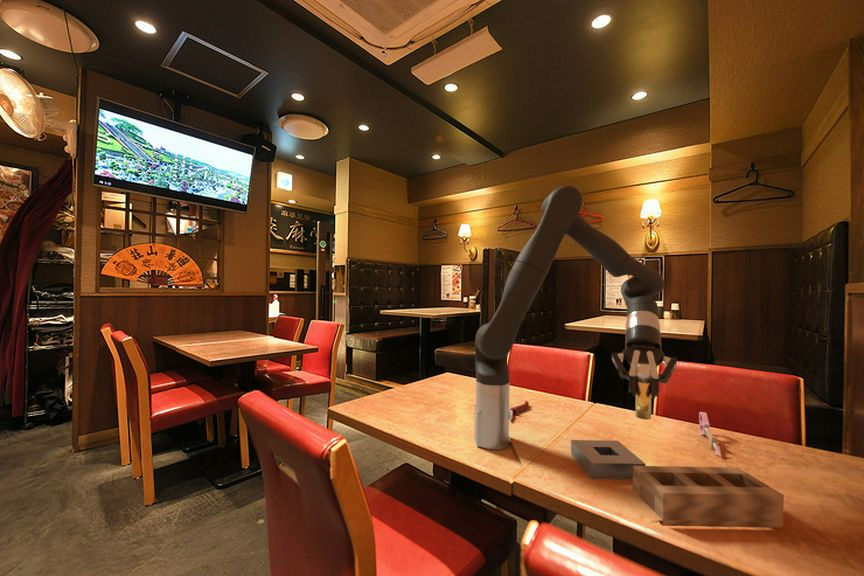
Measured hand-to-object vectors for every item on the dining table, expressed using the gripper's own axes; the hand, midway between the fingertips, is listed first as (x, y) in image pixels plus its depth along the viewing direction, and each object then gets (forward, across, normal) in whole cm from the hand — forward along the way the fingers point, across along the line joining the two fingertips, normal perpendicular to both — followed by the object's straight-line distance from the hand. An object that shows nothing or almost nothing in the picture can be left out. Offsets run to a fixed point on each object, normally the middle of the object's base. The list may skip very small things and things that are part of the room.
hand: (643, 395), depth 78 cm
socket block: (+11, -8, +17) cm, 22 cm away
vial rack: (+17, +10, +12) cm, 23 cm away
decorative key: (-10, +17, +40) cm, 44 cm away
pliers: (-8, -41, +37) cm, 56 cm away
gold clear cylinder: (+2, 0, +5) cm, 6 cm away
